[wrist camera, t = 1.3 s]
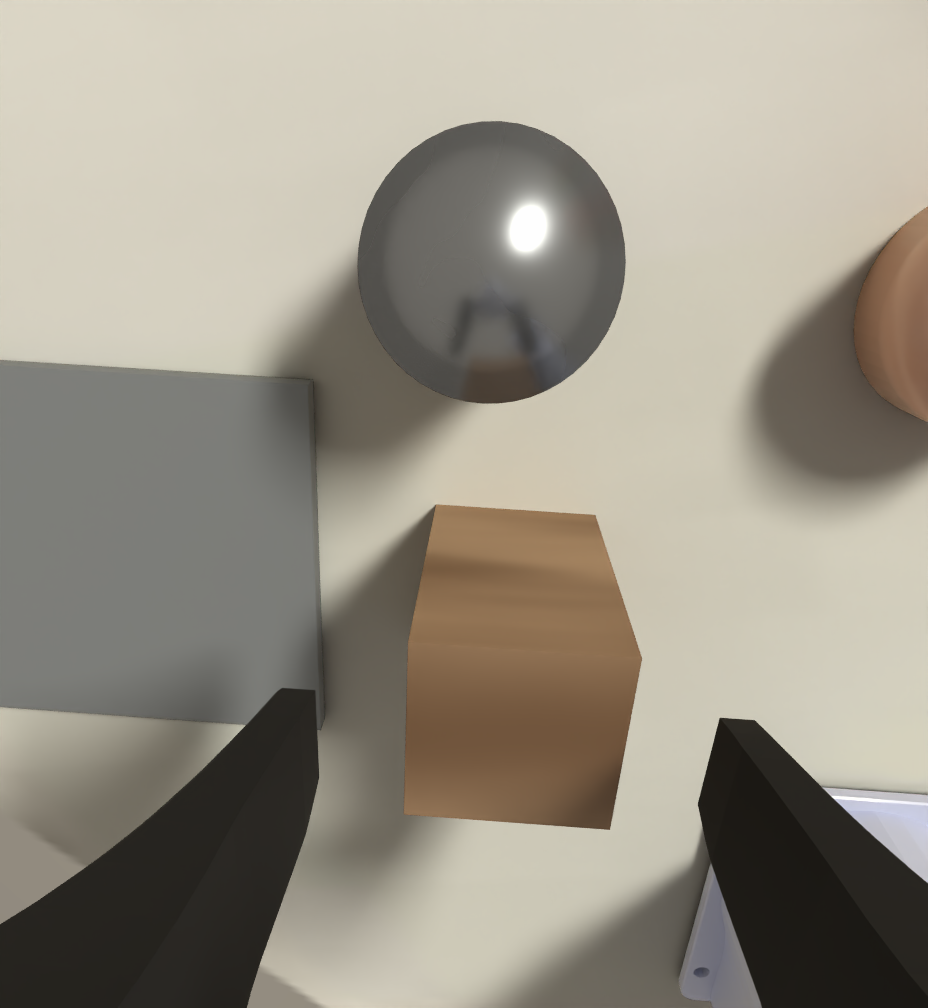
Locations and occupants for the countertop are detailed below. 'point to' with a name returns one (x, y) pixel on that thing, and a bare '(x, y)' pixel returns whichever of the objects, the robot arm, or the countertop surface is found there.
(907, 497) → the countertop surface
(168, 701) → the slate mat
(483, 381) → the shiny grey rounded piece
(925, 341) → the peach dome knob
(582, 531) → the walnut block
